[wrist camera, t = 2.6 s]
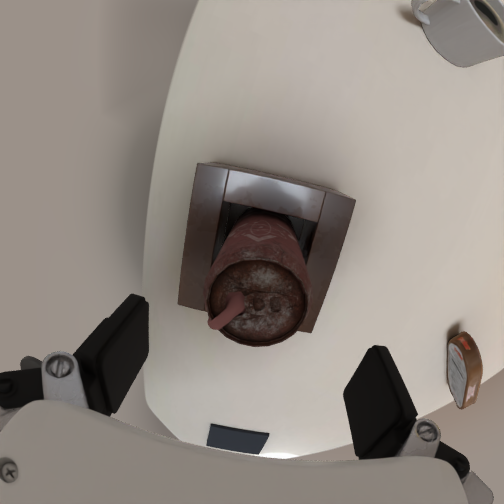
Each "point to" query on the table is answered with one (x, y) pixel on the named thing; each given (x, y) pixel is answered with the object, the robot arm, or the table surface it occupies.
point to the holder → (271, 199)
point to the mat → (236, 439)
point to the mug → (464, 29)
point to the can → (258, 281)
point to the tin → (464, 369)
